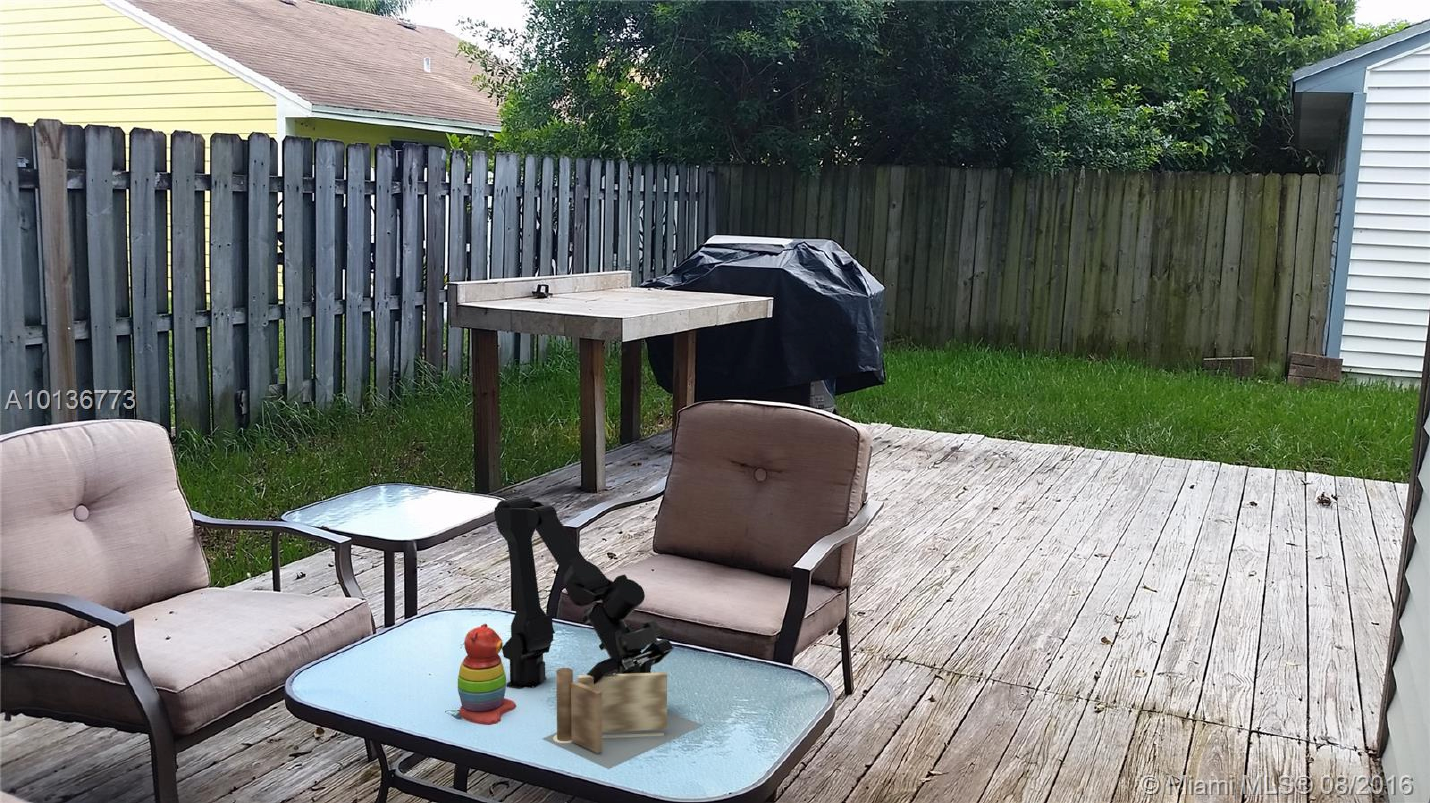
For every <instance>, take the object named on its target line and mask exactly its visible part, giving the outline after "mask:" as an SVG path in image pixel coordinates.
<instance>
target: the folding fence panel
mask: <svg viewBox="0 0 1430 803" xmlns="http://www.w3.org/2000/svg"><path fill="white" fill-rule="evenodd" d="M577 682H579V683H582V684H584V685H587V686H589V687H592V688H594V689H597V690H599V691H602V732H615V731H639V730H663V729H667V711H668V672H666V671H664V672H661V671H660V672H651V673H630V674H615V673H614V674H608V675H605V676H604V677H603V678H602V680H600V681H599V682H598V683H596V684H595V685H594V677H592V676H589V675H587V674H582V675H581V674H579V675H577Z"/></svg>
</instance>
